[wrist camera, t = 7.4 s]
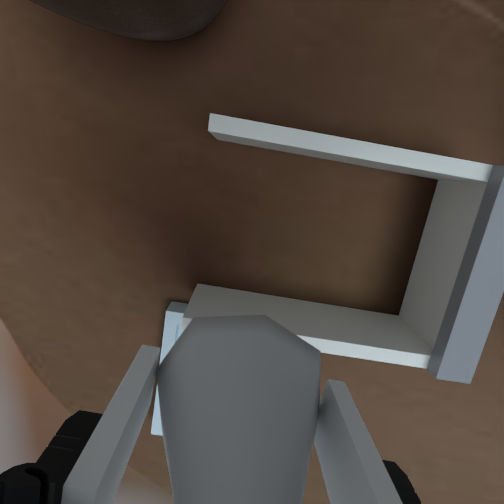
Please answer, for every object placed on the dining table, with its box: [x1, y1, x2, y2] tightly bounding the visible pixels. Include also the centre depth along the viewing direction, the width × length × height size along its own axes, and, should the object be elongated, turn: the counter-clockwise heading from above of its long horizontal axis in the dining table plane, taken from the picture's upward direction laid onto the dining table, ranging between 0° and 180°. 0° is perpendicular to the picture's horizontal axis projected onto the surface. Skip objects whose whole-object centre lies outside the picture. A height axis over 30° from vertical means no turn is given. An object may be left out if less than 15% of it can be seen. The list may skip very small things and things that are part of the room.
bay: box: [181, 113, 504, 384], centre depth 25 cm, size 14×20×8 cm
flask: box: [156, 315, 321, 504], centre depth 10 cm, size 7×7×10 cm
